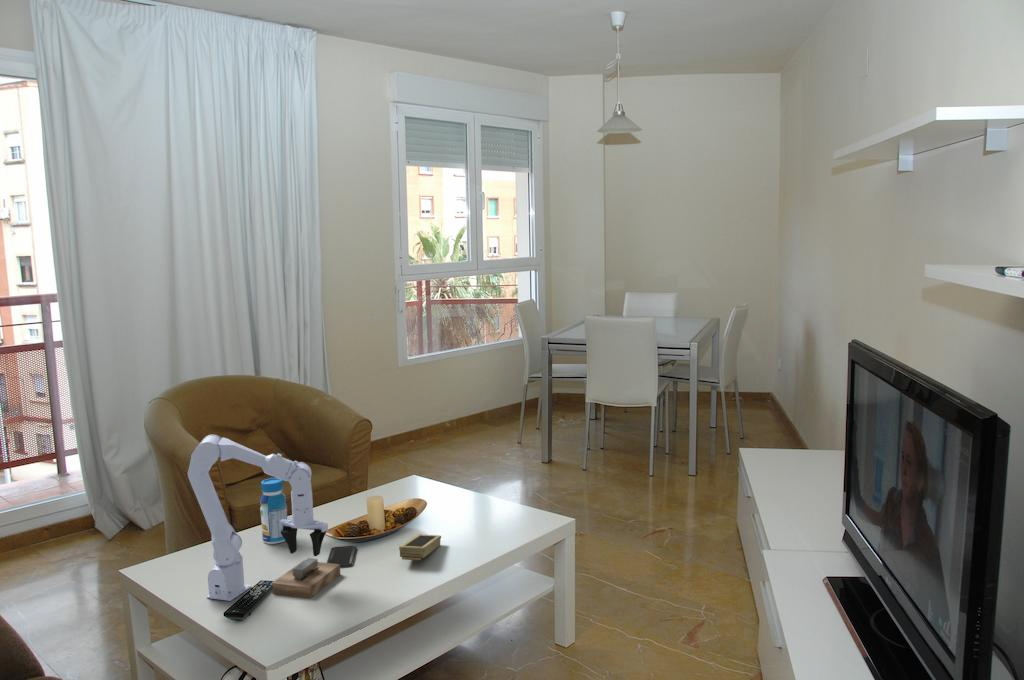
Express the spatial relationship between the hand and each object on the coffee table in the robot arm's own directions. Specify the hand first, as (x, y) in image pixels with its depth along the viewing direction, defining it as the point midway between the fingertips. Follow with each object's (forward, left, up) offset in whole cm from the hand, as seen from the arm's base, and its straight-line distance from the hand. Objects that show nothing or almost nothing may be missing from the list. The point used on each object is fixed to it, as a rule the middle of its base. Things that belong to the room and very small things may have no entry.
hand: (305, 553), depth 223 cm
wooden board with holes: (0, 0, -9) cm, 9 cm away
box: (+28, -23, -9) cm, 37 cm away
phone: (+19, 0, -10) cm, 21 cm away
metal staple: (0, 0, -9) cm, 9 cm away
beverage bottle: (+27, +29, -9) cm, 41 cm away
